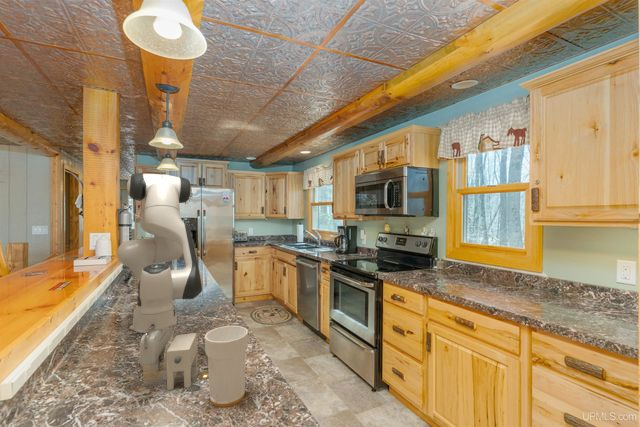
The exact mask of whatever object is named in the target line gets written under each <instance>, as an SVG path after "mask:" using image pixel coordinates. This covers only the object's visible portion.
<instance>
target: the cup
mask: <svg viewBox="0 0 640 427" xmlns="http://www.w3.org/2000/svg"><path fill="white" fill-rule="evenodd" d="M204 344H205V353H206V354H205V353H204V354H205V356H206V355H207V356H208V358H207V368H208V371H209V378H208V387H209V388H208V390H209V391H208V392H209V401H210V403H211V404H212V405H213V406H215V407H218V408H219V407H220V408H227V407H231V406H233V405H236V404H238V403H240V402H241V401H242V400H243V399H244V397H245V396H246V395H245V394H246V358H247V357H246V353H247V352H246V351H247V350H248V347H249V346H248V345H249V330H248V329H247V328H246V327H245V326H241V325H225V326H219V327H216V328H213V329H210V330H209V331H207V332H206V334H205V335H204ZM207 356H206V357H207Z"/></svg>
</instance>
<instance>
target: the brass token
mask: <svg viewBox="0 0 640 427" xmlns="http://www.w3.org/2000/svg"><path fill="white" fill-rule="evenodd" d="M197 379H199V380H207V379H208V380H209V371H208V370H207V369H205V370H202V371H201V372H200V371H199V374H198V377H197Z"/></svg>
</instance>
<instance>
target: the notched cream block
mask: <svg viewBox="0 0 640 427" xmlns="http://www.w3.org/2000/svg"><path fill="white" fill-rule="evenodd" d="M193 367H198V332H193V333H192V332H191V333H183V334H182V333H181V334H177V335H176V336H175V337H174V339H173V341H172V342H171V344H170V345H169V347H168V348H167V350H166V371H167V384H166V387H167V388H166V390H167V391H171V390H174V389H175V383H174V372H178V371H184V382H183V388H184V389H186V388H187V389H188V388H191V385H192V381H191V368H193Z"/></svg>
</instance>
